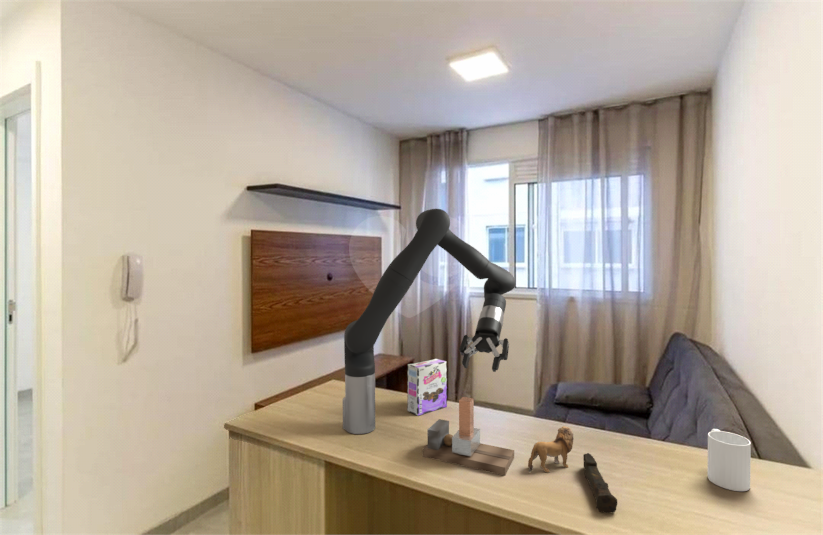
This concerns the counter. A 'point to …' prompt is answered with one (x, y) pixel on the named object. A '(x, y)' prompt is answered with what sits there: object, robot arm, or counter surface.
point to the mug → (729, 460)
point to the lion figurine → (553, 448)
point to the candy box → (427, 386)
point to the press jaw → (466, 429)
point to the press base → (481, 459)
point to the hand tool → (599, 486)
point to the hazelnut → (448, 439)
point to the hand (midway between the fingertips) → (479, 368)
